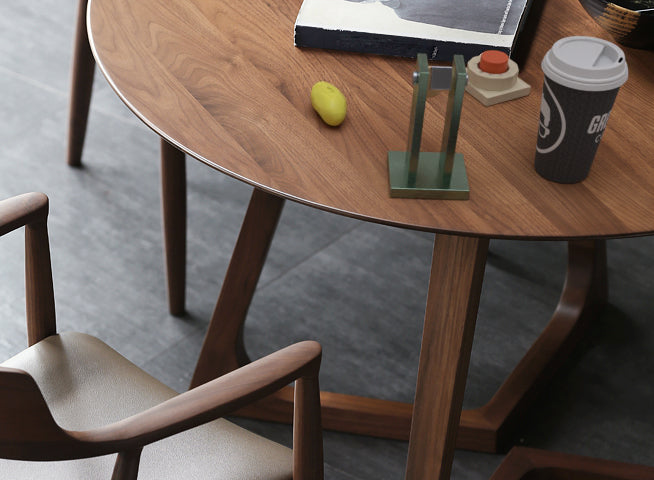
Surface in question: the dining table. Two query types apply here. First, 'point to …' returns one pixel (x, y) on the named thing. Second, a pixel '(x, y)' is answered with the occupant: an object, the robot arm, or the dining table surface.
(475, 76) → the button box
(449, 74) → the lever
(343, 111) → the lemon
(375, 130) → the dining table surface
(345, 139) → the dining table surface
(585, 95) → the coffee cup
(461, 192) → the bracket
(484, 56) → the button
